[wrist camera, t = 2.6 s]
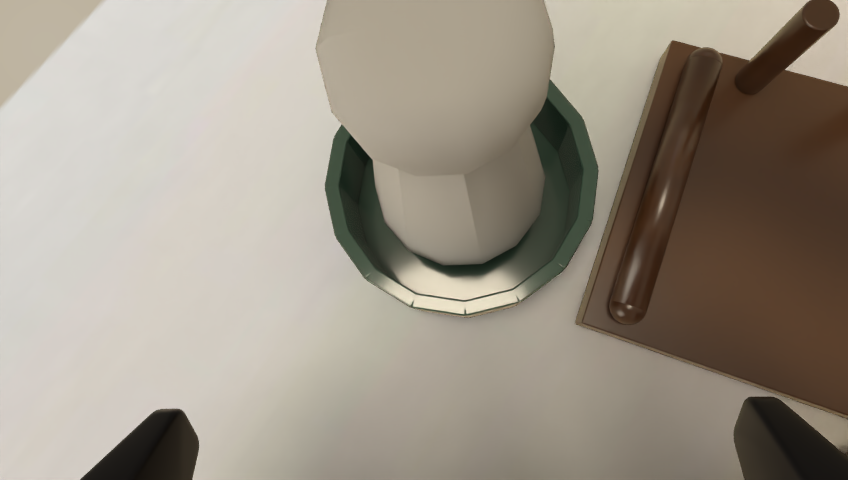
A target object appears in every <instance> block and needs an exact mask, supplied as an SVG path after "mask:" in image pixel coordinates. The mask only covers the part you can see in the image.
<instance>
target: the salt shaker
mask: <svg viewBox="0 0 848 480" xmlns="http://www.w3.org/2000/svg"><path fill="white" fill-rule="evenodd" d="M554 48H555V45H554V36H553V28H552V25H551V22H550V19H549V16H548V12H547V9H546V6H545V3H544V0H327V3H326V7H325V11H324V15H323V19H322V23H321V28H320V32H319V36H318V40H317V44H316V48H315V49H316V53H317V57H318V61H319V65H320V69H321V73H322V76H323V80H324V84H325V88H326V92H327V96H328V100H329V103H330V107H331V111H332V113H333V114H334V115H335V117H336V118H337V119H338V120H339V121H340V122H341V124H342V125H343V126H344V127H345V128H346V129H347V131H348V132H349V133H350V134H351V135H352V136H353V138H354V139H355V140H356V141H357V142H358V143H359V145H360V146H361V147H362V148H363V149H364V150H365V152H366V153H367V154H368V155H369V156H370V157H371V159H373V168H374V179H375V188H376V192H377V195H378V199H379V203H380V207H381V211H382V215H383V219H384V222H385V224H386V225H387V226H388V227H389V228H390V230H391V231H392V232H393V233H394V234H395V235H396V237H397V238H398V239H399V240H400V241H401V242H402V244H403V245H404V246H405V247H406V248H407V249H408V251H411V252H413V253H415V254H418V255H420V256H422V257H425V258H427V259H429V260H432V261H434V262H436V263H439V264H441V265H469V264H483V263H485V262H487V261H489V260H491V259H493V258H494V257H496V256H498V255H500V254H502V253H504V252H505V251H507V250H509V249H511V248H513V247H515V246H516V245H517V244H518V243H519V241H520V240H521V239H522V237H523V236H524V235H525V233H526V232H527V231H528V229H529V228H530V227H531V225H532V224H533V223H534V221H535V220H536V219H537V217H538V216H539V215H540V210H541V203H542V196H543V190H544V183H545V175H544V171H543V168H542V164H541V161H540V157H539V154H538V150H537V147H536V143H535V140H534V137H533V133H532V130H531V127H530V124H531V123H532V122H533V120H534V119H535V118H536V116H537V115H538V114H539V112H540V111H541V109H542V107H543V105H544V102H545V100H546V98H547V92H548V86H549V80H550V73H551V67H552V61H553V54H554Z"/></svg>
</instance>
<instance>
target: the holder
mask: <svg viewBox="0 0 848 480" xmlns="http://www.w3.org/2000/svg"><path fill="white" fill-rule="evenodd" d="M530 127H531V130H532V133H533V137H534V140H535V143H536V147H537V150H538V154H539V157H540V161H541V164H542V168H543V171H544V175H545V183H544V190H543V196H542V203H541V210H540V215H539V216H538V217H537V219H536V220H535V221H534V223H533V224H532V225H531V227H530V228H529V229H528V231H527V232H526V233H525V235H524V236H523V237H522V239H521V240H520V241H519V243H518V244H517V245H516V246H515V247H513V248H511V249H509V250H507V251H505V252H504V253H502V254H500V255H498V256H496V257H494V258H493V259H491V260H489V261H487V262H485V263H483V264H469V265H441V264H439V263H436V262H434V261H432V260H429V259H427V258H425V257H422V256H420V255H418V254H415V253H413V252H411V251H408V249H407V248H406V247H405V246H404V245H403V244H402V242H401V241H400V240H399V239H398V238H397V237H396V235H395V234H394V233H393V232H392V231H391V230H390V228H389V227H388V226H387V225H386V224H385V222H384V219H383V215H382V211H381V207H380V203H379V199H378V195H377V192H376V188H375V179H374V168H373V159H371V157H370V156H369V155H368V154H367V153H366V152H365V150H364V149H363V148H362V147H361V146H360V145H359V143H358V142H357V141H356V140H355V139H354V138H353V136H352V135H351V134H350V133H349V132H348V131H347V129H346V128H345V127H344V126H343V125H341V127H340V128H339V130H338V131H337V133H336V135H335V138H334V139H333V144H332V149H331V155H330V160H329V166H328V171H327V177H326V182H325V192H326V196H327V201H328V206H329V210H330V215H331V220H332V224H333V229H334V233H335V236H336V239H337V240H338V242H339V243H340V244H341V246H342V247H343V249H344V250H345V252H346V253H347V254H348V256H349V257H350V259H351V260H352V261H353V263H354V264H355V266H356V267H357V269H358V270H359V271H360V273H361V274H362V276H363V277H364V278H365V279H366V280H367V281H368V282H370V283H372V284H373V285H375V286H376V287H378V288H380V289H381V290H383V291H385V292H386V293H388V294H389V295H391V296H393V297H394V298H396V299H398V300H399V301H401V302H402V303H404V304H406V305H407V306H409V307H412V308H414V309H417V310H421V311H425V312H432V313H438V314H444V315H451V316H458V317H464V318H468V317H469V318H471V317H475V316H479V315H483V314H487V313H492V312H495V311H499V310H503V309H507V308H512V307H514V306H517V305H518V304H519V303H521V302H522V301H523V300H525V299H526V298H527V297H529V296H530V295H531V294H533V293H534V292H536V291H537V290H538V289H540V288H541V287H542V286H544V285H545V284H546V283H548V282H549V281H550V280H552V279H553V278H554V277H556V276H557V275H558V274H560V273H561V272H562V271H563V270H564V269H565V268H566V267H567V265H568V263H569V261H570V260H571V258H572V256H573V255H574V253H575V251H576V249H577V248H578V246H579V244H580V243H581V241H582V239H583V237H584V236H585V234H586V232H587V231H588V229H589V227H590V225H591V224H592V221H593V213H594V205H595V196H596V187H597V179H598V165H597V162H596V158H595V155H594V152H593V149H592V145H591V142H590V139H589V136H588V132H587V129H586V126H585V122H584V120H583V119H582V116H581V115H580V114H579V113H578V112H577V110H576V109H575V108H574V107H573V106H572V105H571V103H570V102H569V101H568V100H567V99H566V98H565V96H564V95H563V94H562V93H561V92H560V90H559V89H558V88H557V87H556V86H555V85H554V83H553V82H552V81H551V80H549V86H548V92H547V98H546V100H545V102H544V105H543V107H542V109H541V111H540V112H539V114H538V115H537V116H536V118H535V119H534V120H533V122H532V123H531V124H530Z"/></svg>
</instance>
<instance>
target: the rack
mask: <svg viewBox="0 0 848 480" xmlns="http://www.w3.org/2000/svg"><path fill="white" fill-rule="evenodd" d="M839 15H840V14H839V9H838V7H837V6H836V5H835V4H834V3H833V2H832V1H830V0H810V1H809V2H807V3H806V4H805V5H804V6H803V7H802V8H801V9H800V10H799V11H798V12H797V13H796V14H795V15H794V16H793V17H792V18H791V19H790V20H789V21H788V22H787V23H786V25H785V26H784V27H783V28H782V29H781V30H780V31H779V32H778V33H777V34H776V35H775V36H774V37H773V38H772V39H771V40H770V41H769V42H768V43H767V44H766V45H765V46H764V47H763V48H762V49H761V50H760V51H759V52H758V53H757V54H756V55H755V56H754V57H753V58H752V59H751V60H750V61H749V60H745V59H741V58H738V57H734V56H730V55H726V54H723V53H719V52H718V51H716V50H715V49H712V48H708V47H704V48H700V47H696V46H692V45H689V44H685V43H681V42H677V41H671V43H670V44H669V46H668V47H667V49H666V50H665V52H664V54H663V55H662V57H661V58H660V61H659V64H658V67H657V70H656V73H655V76H654V79H653V82H652V85H651V89H650V92H649V95H648V98H647V101H646V104H645V107H644V110H643V113H642V116H641V120H640V123H639V126H638V129H637V132H636V135H635V138H634V141H633V144H632V148H631V151H630V154H629V157H628V160H627V163H626V166H625V169H624V172H623V176H622V179H621V182H620V185H619V188H618V191H617V194H616V197H615V200H614V204H613V207H612V210H611V213H610V216H609V219H608V222H607V225H606V228H605V232H604V235H603V238H602V241H601V244H600V247H599V250H598V253H597V256H596V259H595V263H594V266H593V269H592V272H591V275H590V278H589V281H588V284H587V287H586V291H585V294H584V297H583V300H582V303H581V306H580V309H579V312H578V315H577V319H576V322H575V323H576V324H577V325H580V326H583V327H586V328H589V329H592V330H594V331H597V332H600V333H603V334H606V335H609V336H612V337H615V338H617V339H620V340H623V341H626V342H629V343H632V344H635V345H638V346H640V347H643V348H646V349H649V350H652V351H655V352H658V353H660V354H663V355H666V356H669V357H672V358H675V359H678V360H681V361H683V362H686V363H689V364H692V365H695V366H698V367H701V368H704V369H706V370H709V371H712V372H715V373H718V374H721V375H724V376H727V377H729V378H732V379H735V380H738V381H741V382H744V383H747V384H750V385H752V386H755V387H758V388H761V389H764V390H767V391H770V392H773V393H775V394H778V395H781V396H784V397H787V398H790V399H793V400H795V401H798V402H801V403H804V404H807V405H810V406H813V407H816V408H818V409H821V410H824V411H827V412H830V413H833V414H836V415H839V416H841V417H844V418H847V419H848V87H847V86H843V85H840V84H836V83H832V82H828V81H824V80H821V79H817V78H813V77H809V76H806V75H802V74H798V73H794V72H790V71H787V70H785V69H786V68H787V67H788V66H789V65H790V64H792V63H793V62H794V61H795V60H796V59H797V58H798V57H800V56H801V55H802V54H803V53H804V52H805V51H807V50H808V49H809V48H810V47H811V46H812V45H813V44H815V43H816V42H817V41H818V40H819V39H820V38H821V37H823V36H824V35H825V34H826V33H827V32H828V31H829V30H831V29H832V28H833V27H834V26H835V25H836V24H837V22H838V20H839Z"/></svg>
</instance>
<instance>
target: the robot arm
mask: <svg viewBox="0 0 848 480" xmlns="http://www.w3.org/2000/svg"><path fill="white" fill-rule="evenodd" d="M734 443H735V447H736V451H737V454H738V458H739V461H740V465H741V468H742V472H743V476H744V479H745V480H848V457H847V456H846V455H845V454H843V453H842V452H841V451H840V450H839V449H837V448H836V447H835V446H834V445H833V444H832V443H830V442H829V441H828V440H827V439H826V438H825V437H823V436H822V435H821V434H820V433H819V432H818V431H816V430H815V429H814V428H813V427H812V426H810V425H809V424H808V423H807V422H806V421H805V420H803V419H802V418H801V417H800V416H799V415H798V414H796V413H795V412H794V411H793V410H792V409H791V408H789V407H788V406H787V405H786V404H785V403H783V402H782V401H781V400H779V399H777V398H775V397H749V398H747V399H746V400H745V401H744V403H743V406H742V408H741V411H740V414H739V417H738V420H737V422H736V425H735V428H734ZM198 451H199V441H198V437H197V435H196V433H195V431H194V429H193V427H192V425H191V424H190V422H189V420H188V418H187V416H186V414H185V413H184V412H183V411H182V410H180V409H160V410H156V411H155V412H153V413H152V414H151V415H149V416H148V417H147V418H146V419H145V420H144V421H143V422H142V423H141V424H140V425H139V426H138V427H136V428H135V429H134V430H133V431H132V432H131V433H130V434H129V435H128V436H127V437H126V438H125V439H123V440H122V441H121V442H120V443H119V444H118V445H117V446H116V447H115V448H114V449H113V450H112V451H111V452H109V453H108V454H107V455H106V456H105V457H104V458H103V459H102V460H101V461H100V462H99V463H98V464H96V465H95V466H94V467H93V468H92V469H91V470H90V471H89V472H88V473H87V474H86V475H85V476H83V477H82V478H81V479H80V480H192V478H193V474H194V469H195V465H196V460H197V456H198Z"/></svg>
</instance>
